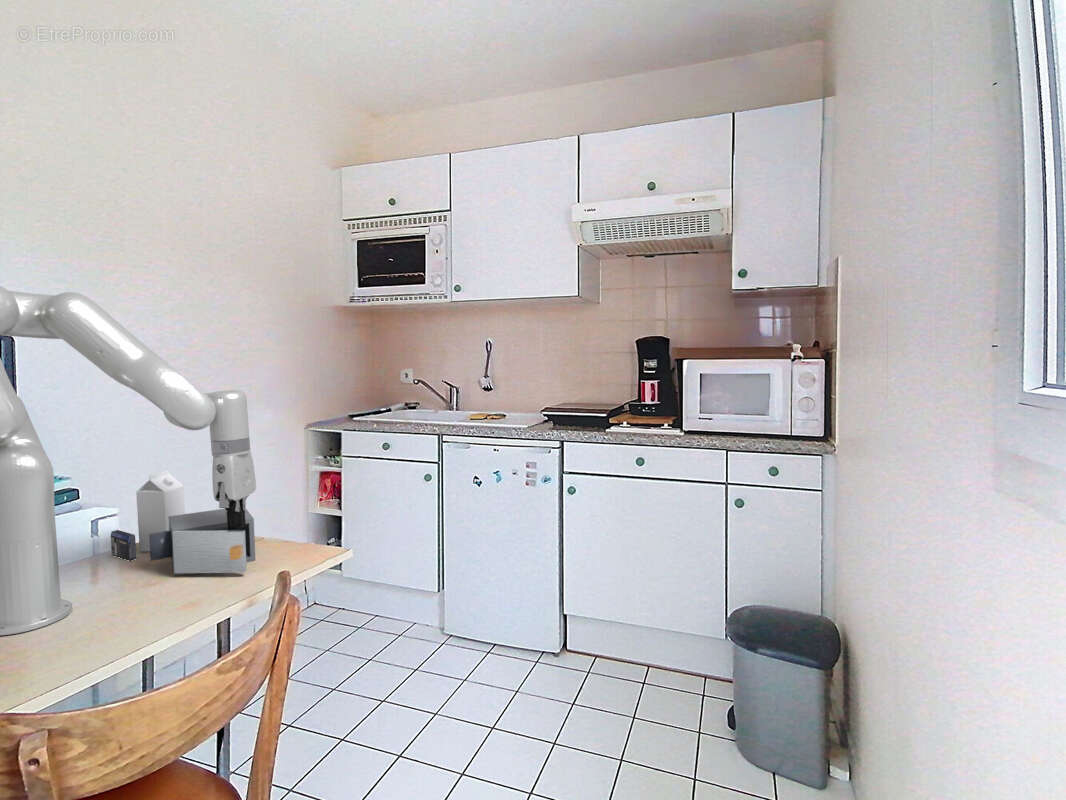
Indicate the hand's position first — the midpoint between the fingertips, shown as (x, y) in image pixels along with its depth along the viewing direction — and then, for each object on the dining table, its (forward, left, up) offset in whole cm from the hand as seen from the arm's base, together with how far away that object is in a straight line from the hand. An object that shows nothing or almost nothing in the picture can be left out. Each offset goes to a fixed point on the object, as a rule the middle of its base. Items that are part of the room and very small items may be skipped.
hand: (236, 528), depth 125 cm
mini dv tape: (-21, +25, -10) cm, 34 cm away
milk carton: (-13, +28, -10) cm, 32 cm away
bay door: (-6, -2, -8) cm, 10 cm away
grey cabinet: (-6, +11, -9) cm, 16 cm away
